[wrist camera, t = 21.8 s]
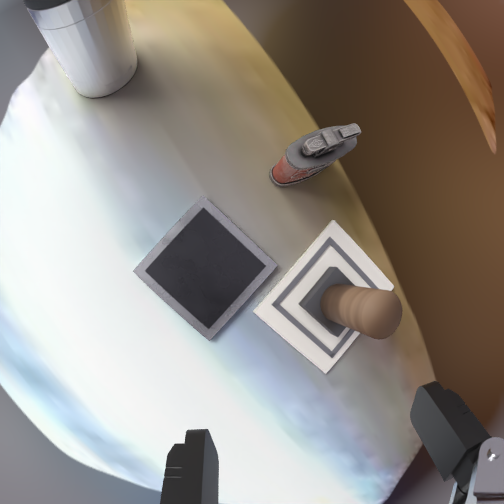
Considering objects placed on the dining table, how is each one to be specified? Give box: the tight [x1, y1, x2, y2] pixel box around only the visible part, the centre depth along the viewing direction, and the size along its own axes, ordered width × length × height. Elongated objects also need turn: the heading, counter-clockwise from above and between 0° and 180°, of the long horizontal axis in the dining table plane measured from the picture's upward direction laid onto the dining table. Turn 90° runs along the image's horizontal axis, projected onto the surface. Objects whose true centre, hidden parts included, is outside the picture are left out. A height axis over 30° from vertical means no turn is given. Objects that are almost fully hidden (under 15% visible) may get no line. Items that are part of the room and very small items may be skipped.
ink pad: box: [133, 196, 278, 341], centre depth 32 cm, size 11×11×1 cm
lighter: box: [269, 124, 361, 187], centre depth 30 cm, size 8×3×10 cm, turn 117°
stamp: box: [299, 267, 402, 339], centre depth 29 cm, size 6×6×11 cm
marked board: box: [253, 220, 394, 373], centre depth 34 cm, size 12×14×1 cm
